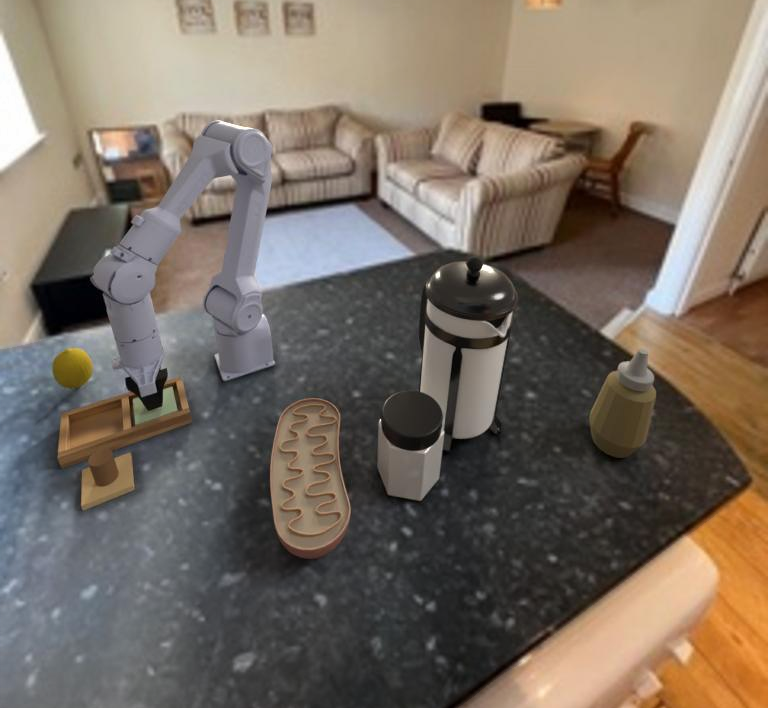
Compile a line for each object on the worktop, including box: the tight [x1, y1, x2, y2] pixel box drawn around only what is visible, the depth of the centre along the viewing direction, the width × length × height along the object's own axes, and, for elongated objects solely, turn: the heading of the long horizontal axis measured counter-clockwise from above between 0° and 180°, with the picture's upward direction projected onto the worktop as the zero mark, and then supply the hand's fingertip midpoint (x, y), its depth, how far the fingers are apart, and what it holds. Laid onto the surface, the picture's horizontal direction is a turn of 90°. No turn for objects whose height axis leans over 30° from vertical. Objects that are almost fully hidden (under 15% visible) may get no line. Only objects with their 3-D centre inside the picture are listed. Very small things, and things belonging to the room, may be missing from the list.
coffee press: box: [418, 255, 519, 455], centre depth 68 cm, size 17×16×30 cm
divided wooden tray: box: [56, 376, 193, 470], centre depth 70 cm, size 9×17×2 cm, turn 120°
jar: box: [376, 389, 444, 502], centre depth 62 cm, size 9×8×12 cm
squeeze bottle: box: [588, 348, 657, 459], centre depth 66 cm, size 8×8×18 cm
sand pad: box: [80, 448, 136, 511], centre depth 61 cm, size 6×6×5 cm
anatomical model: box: [269, 397, 352, 560], centre depth 61 cm, size 23×10×5 cm, turn 10°
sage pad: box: [133, 387, 178, 426], centre depth 71 cm, size 6×6×5 cm
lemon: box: [51, 347, 94, 389], centre depth 76 cm, size 6×6×8 cm
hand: (153, 400), depth 72 cm, fingers closed on sage pad, 3 cm apart
